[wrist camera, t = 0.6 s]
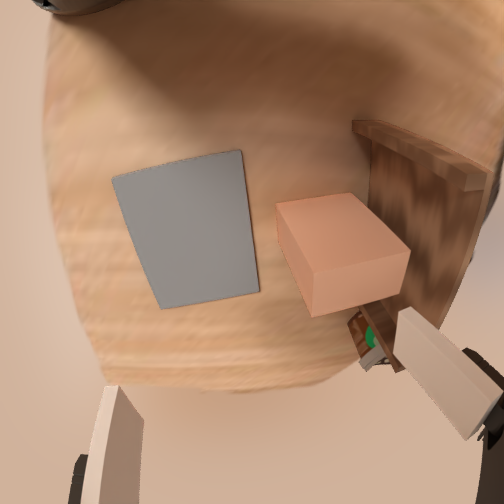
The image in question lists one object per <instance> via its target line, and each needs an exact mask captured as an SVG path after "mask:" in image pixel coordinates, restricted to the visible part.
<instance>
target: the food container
mask: <svg viewBox="0 0 504 504" xmlns="http://www.w3.org/2000/svg"><path fill="white" fill-rule="evenodd" d="M348 327H349V329H350V332H351V334H352V337H353V340H354V342H355V345H356V347H357V350H358V353H359V355H360V358H361V360H360V361H359V363H360V365H361V366H362V368H363V369H365V371H366V372H367V371H368V370H369V369H370V368H371V367H372V366H373V365H380V364H390V362H389V360H388V358H387V356H386V354H385V353H384V351H383V349H382V347H381V345H380V343H379V342H378V340H377V338H376V336H375V335H374V333H373V331H372V329H371V327H370V326H369V324H368V322H367V321H366V319H365V317H364V315H363V314H362V312H361V310H360V311H359V312H358V313H357V314H355V315H354V316H353V317H352V318H351V320H350V321H349V322H348Z"/></svg>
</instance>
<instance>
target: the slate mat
mask: <svg viewBox="0 0 504 504" xmlns="http://www.w3.org/2000/svg"><path fill="white" fill-rule="evenodd" d="M111 180H112V184H113V187H114V190H115V193H116V196H117V199H118V202H119V205H120V208H121V211H122V214H123V217H124V220H125V223H126V225H127V228H128V231H129V234H130V236H131V239H132V242H133V244H134V247H135V250H136V252H137V255H138V257H139V260H140V262H141V265H142V267H143V270H144V272H145V274H146V277H147V279H148V282H149V284H150V286H151V288H152V291H153V293H154V295H155V298H156V300H157V302H158V304H159V306H160V309H166V308H172V307H178V306H184V305H190V304H196V303H202V302H207V301H213V300H218V299H224V298H229V297H234V296H240V295H245V294H250V293H255V292H259V286H258V278H257V270H256V262H255V255H254V247H253V239H252V231H251V224H250V216H249V208H248V201H247V193H246V185H245V178H244V170H243V163H242V155H241V150H234V151H228V152H222V153H216V154H211V155H206V156H200V157H195V158H190V159H185V160H181V161H176V162H172V163H167V164H163V165H158V166H154V167H150V168H146V169H142V170H138V171H134V172H131V173H127V174H123V175H120V176H116V177H113V178H112V179H111Z"/></svg>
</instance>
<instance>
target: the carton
mask: <svg viewBox="0 0 504 504" xmlns="http://www.w3.org/2000/svg"><path fill="white" fill-rule="evenodd" d="M276 217H277V231H278V243H279V245H280V247H281V249H282V252H283V254H284V256H285V258H286V260H287V263H288V265H289V267H290V270H291V272H292V274H293V276H294V279H295V281H296V283H297V285H298V288H299V290H300V292H301V295H302V297H303V299H304V302H305V304H306V306H307V309H308V311H309V313H310V316H311V318H313V317H317V316H321V315H325V314H329V313H333V312H337V311H341V310H345V309H348V308H352V307H356V306H359V305H363V304H366V303H370V302H373V301H377V300H380V299H383V298H387V297H390V296H393V295H396V294H399V292H400V289H401V286H402V282H403V279H404V275H405V272H406V268H407V264H408V261H409V257H410V253H411V250H410V249H409V248H408V247H407V246H406V245H405V244H404V243H403V242H402V241H401V240H400V239H399V238H398V237H397V236H396V235H395V234H394V233H393V232H392V231H391V230H390V229H389V228H388V227H387V226H386V225H385V224H384V223H383V222H382V221H381V220H380V219H379V218H378V217H377V216H376V215H375V214H374V213H373V212H372V211H371V210H370V209H368V208H367V207H366V206H365V205H364V204H363V203H362V202H361V201H360V200H359V199H358V198H356V197H355V196H354V195H353V194H352V193H351V192H350V193H342V194H335V195H328V196H321V197H314V198H308V199H301V200H294V201H288V202H282V203H276Z"/></svg>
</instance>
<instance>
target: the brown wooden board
mask: <svg viewBox="0 0 504 504" xmlns="http://www.w3.org/2000/svg"><path fill="white" fill-rule="evenodd" d="M352 131H354V132H356V133H358V134H360V135H363V136H365V137H367V138H369V139H371V140H372V145H371V168H370V184H369V197H368V209H370V210H371V211H372V212H373V213H374V214H375V215H376V216H377V217H378V218H379V219H380V220H381V221H382V222H383V223H384V224H385V225H386V226H387V227H388V228H389V229H390V230H391V231H392V232H393V233H394V234H395V235H396V236H397V237H398V238H399V239H400V240H401V241H402V242H403V243H404V244H405V245H406V246H407V247H408V248H409V249H410V250H411V253H410V257H409V261H408V264H407V268H406V272H405V275H404V279H403V282H402V286H401V289H400V292H399V294H396V295H393V296H390V297H387V298H383V299H380V300H377V301H373V302H370V303H366V304H363V305H359V306H358V307H359V309H360V310H361V312H362V314H363V315H364V317H365V319H366V321H367V322H368V324H369V326H370V327H371V329H372V331H373V333H374V335H375V336H376V338H377V340H378V342H379V343H380V345H381V347H382V349H383V351H384V353H385V354H386V356H387V358H388V360H389V362H390V364H391V365H392V367H393V369H394V371H395V373H397V372H400V371H402V370H404V369H406V368H405V367H404V366H403V365H402V363H401V362H400V361H399V360H398V359H397V358H396V357H395V355H394V354H393V349H394V343H395V336H396V329H397V321H398V312H399V311H401V310H403V309H406V308H408V307H410V306H411V307H412V308H413V309H414V310H416V311H417V312H418V313H419V314H420V315H421V316H423V317H424V318H425V319H426V320H427V321H428V322H430V323H431V324H432V325H433V326H434V327H435V328H437V329H438V330H439V329H440V327H441V324H442V323H443V321H444V319H445V317H446V315H447V313H448V311H449V308H450V307H451V304H452V302H453V300H454V298H455V296H456V293H457V291H458V289H459V287H460V284H461V282H462V279H463V277H464V274H465V272H466V269H467V267H468V264H469V262H470V259H471V256H472V253H473V251H474V248H475V245H476V242H477V238H478V236H479V232H480V229H481V226H482V222H483V219H484V215H485V212H486V208H487V204H488V200H489V196H490V192H491V187H492V183H493V178H494V173H493V172H492V171H490V170H488V169H486V168H485V167H483V166H481V165H479V164H478V163H476V162H474V161H472V160H470V159H468V158H466V157H464V156H462V155H461V154H459V153H457V152H455V151H452V150H450V149H448V148H446V147H444V146H442V145H440V144H438V143H435V142H433V141H431V140H429V139H426V138H424V137H422V136H419V135H417V134H415V133H412V132H410V131H407V130H405V129H402V128H399V127H397V126H394V125H391V124H389V123H386V122H383V121H380V120H352Z"/></svg>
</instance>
